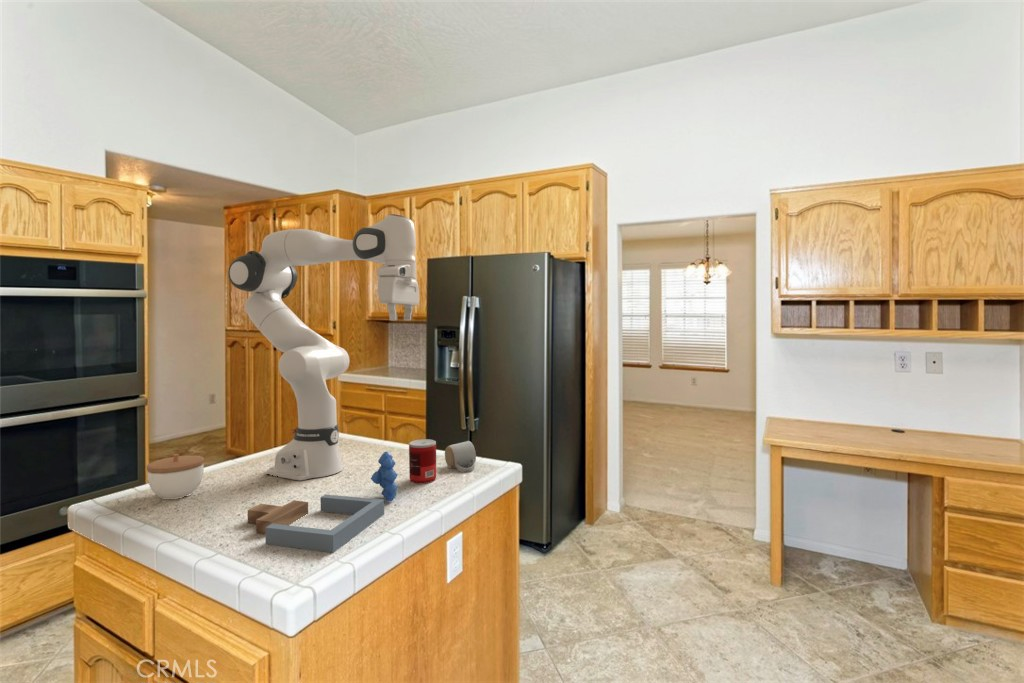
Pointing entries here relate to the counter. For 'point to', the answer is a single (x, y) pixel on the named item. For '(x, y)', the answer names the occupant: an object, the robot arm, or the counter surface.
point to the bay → (336, 537)
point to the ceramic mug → (461, 456)
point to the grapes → (386, 476)
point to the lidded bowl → (175, 475)
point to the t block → (276, 514)
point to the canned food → (422, 461)
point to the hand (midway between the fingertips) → (400, 320)
